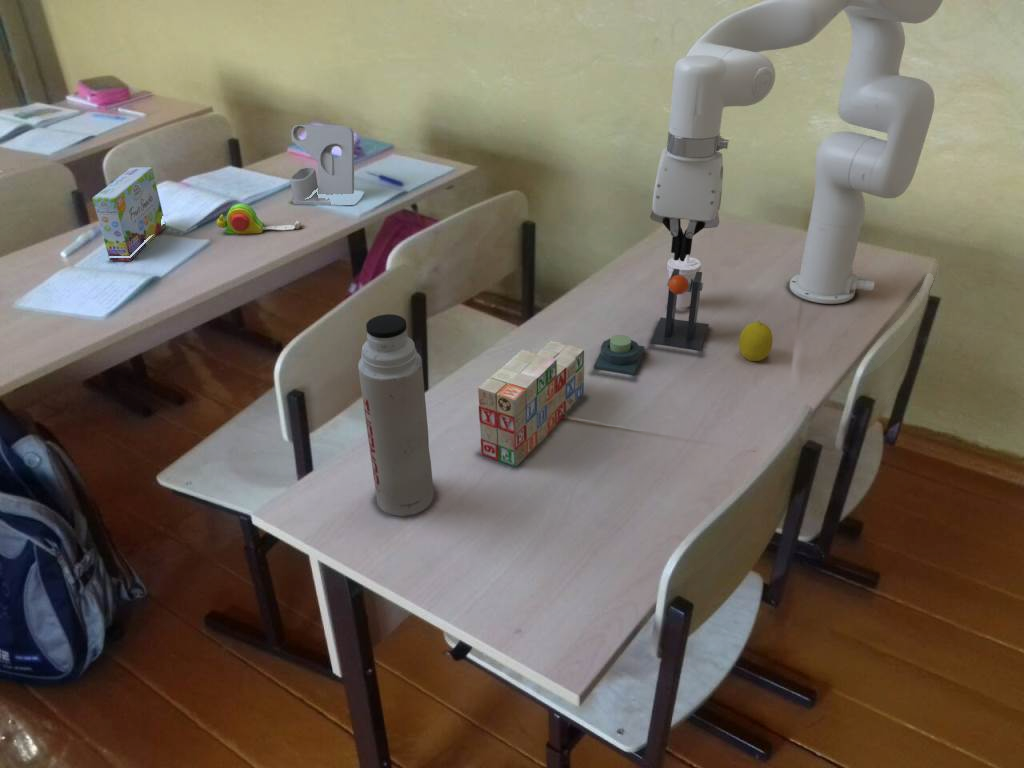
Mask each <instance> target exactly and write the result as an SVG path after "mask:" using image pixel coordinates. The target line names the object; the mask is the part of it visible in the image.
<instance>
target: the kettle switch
mask: <svg viewBox="0 0 1024 768" xmlns="http://www.w3.org/2000/svg"><path fill="white" fill-rule="evenodd" d="M692 284H693V279H691V278H685V277H684V276H682V275H676V276H674V277H672V278H671V280H670V281H669V287H668V290H669V289H670V290H671V292H672V293H674V294H677V295H679V294H683V293H685V292H691V290H692Z"/></svg>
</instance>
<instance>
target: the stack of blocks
mask: <svg viewBox="0 0 1024 768" xmlns="http://www.w3.org/2000/svg"><path fill="white" fill-rule="evenodd" d="M584 365H585V349H583V348H579V347H576V346H572V345H569V344H568V345H567V344H565V343H562V342H558V341H554V340H550V341H549V342H547V344H545V345H544V346H543V347H542V348H540V349H539V350H538V351H537V352H532V351H529V350H525V349H521V350H520V351H519V352H518V353H516V354H515V355H514V356H513V357H512V358H511V359H510V360H509V361H508V362H507V363H505V364H504V365H503V366H502V367H501V368H499V369H498V370H496V372H495V373H494V374H492V375H491V376H490V377H488V378H487V379H486V380H485V381H484V382H483V383H481V384H480V385H479V386H478V388H477V392H478V418H479V419H478V420H479V429H480V431H479V432H480V453H481V455H482V456H485V457H488V458H491V459H493V460H496V461H499V462H501V463H504V464H506V465H509V466H512V467H515V468H516V467H517V466H519V464H520V463H521V462H522V461H523V460H524V459H525V458H526V457H528V456H529V455H530V454H531V453H532V452H533V451H534V449H536V448H537V447H538V445H540V444H541V443H542V441H543V440H544V439H545V438H546V437H547V436H548V434H550V432H551V431H552V430H553V429H554V428H555V427H556V425H557V424H558V423H560V422H561V420H562V419H563V418H564V417H565V416H566V414H564V413H565V412H567V411H568V410H569V409H570V408H571V407H572V406H573V405H574V404H576V402H577V400H578V399H579V398H581V396H582V395H583V394H584V389H585V387H584V386H585V382H584V381H585V366H584Z"/></svg>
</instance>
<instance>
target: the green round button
mask: <svg viewBox="0 0 1024 768" xmlns="http://www.w3.org/2000/svg"><path fill="white" fill-rule="evenodd" d="M609 339H610V338H609ZM631 340H632V339H631V337H629V336H627V335H624V334H617V335H613V336H612V337H611V339H610V350H611V351H613V352H616V353H627V352H629V351H630V350H631Z"/></svg>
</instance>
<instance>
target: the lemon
mask: <svg viewBox="0 0 1024 768" xmlns="http://www.w3.org/2000/svg"><path fill="white" fill-rule="evenodd" d="M773 339H774V338H773V332H772V330H771V328H770V327H769V326H768V325H767V324H765V323H764V322H761V321H760V320H759V321H754V322H750V323H749V324H747V325H745V327H744V328H743V329H742V331H741V333H740V336H739V339H738V349H739V352H740V354H741V355H742V356H743V358H745V359H746V360H747V361H751V362H760V361H762V360H764V359H766V358H767V357H768V356H769V354H770V353H771V351H772V347H773V342H774V340H773Z"/></svg>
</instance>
